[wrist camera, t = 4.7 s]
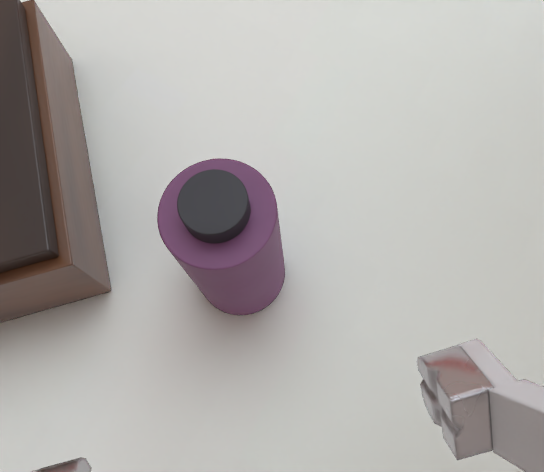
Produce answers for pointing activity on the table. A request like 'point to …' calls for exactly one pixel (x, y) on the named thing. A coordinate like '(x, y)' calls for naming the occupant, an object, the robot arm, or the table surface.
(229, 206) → the lotion bottle
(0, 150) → the flat rectangular box
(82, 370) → the table surface
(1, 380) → the table surface
